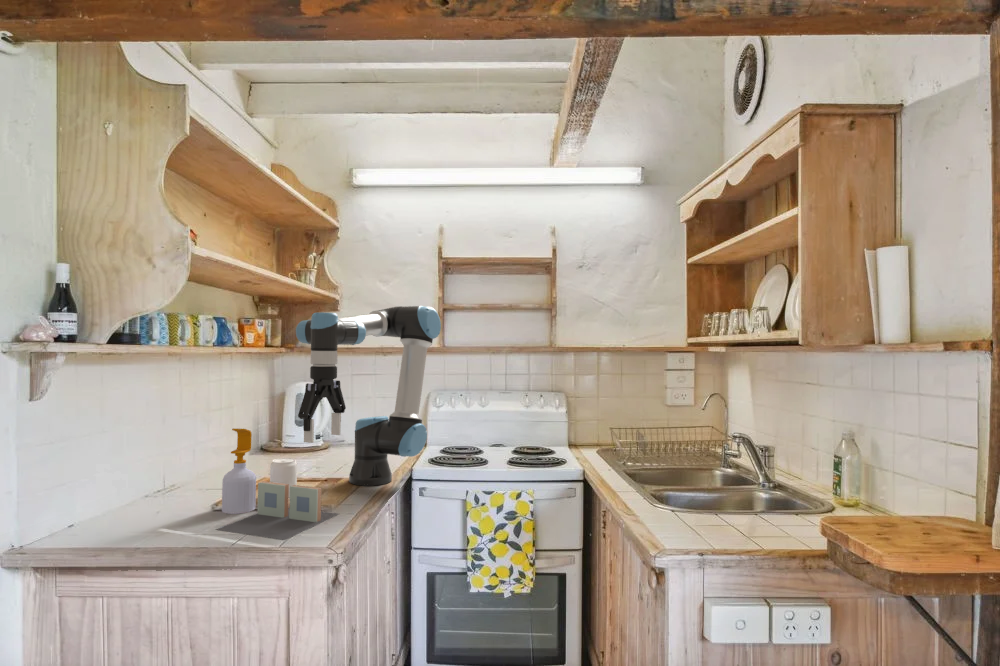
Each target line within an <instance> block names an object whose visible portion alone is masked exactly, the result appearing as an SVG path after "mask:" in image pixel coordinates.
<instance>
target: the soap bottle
mask: <svg viewBox="0 0 1000 666" xmlns="http://www.w3.org/2000/svg"><path fill="white" fill-rule="evenodd" d="M231 431H234V432H236V434H237V444H236V445H237V447H236V449H234V450H232V451H230V454H234V456H236V460H234V461H233V468H232V469H231V470H230V471H228V472H227V473H225V474H224V476H223V478H222V487H221V488H222V492H221V494H222V495H221V512H222V513H223V514H224V513H225V514H230V515H231V514H232V515H233V514H234V515H235V514H243V513H244V514H245V513H249V512H251V511H255V509H256V503H257V502H256V500H257V497H256V496H257V474H256V473H255V472H254V471H253V470H251V469H248V468H247V460H246V459H244V456H246V454H247V453H248V452H250V451H251V449H252V431H251V430H249V429H247V428H232V430H231Z"/></svg>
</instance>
